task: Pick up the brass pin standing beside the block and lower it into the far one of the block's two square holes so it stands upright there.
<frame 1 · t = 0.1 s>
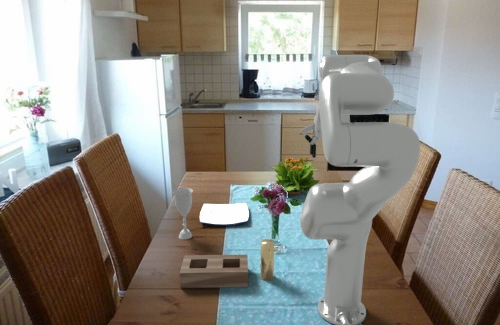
hand: (329, 156, 119), 37 cm above the table, tool pointing down, fingers open, 9 cm apart
chalice: (185, 236, 149), on the table
hole block: (215, 277, 122), on the table
potted flower: (292, 190, 195), on the table
pin: (267, 276, 123), on the table
plate: (224, 218, 166), on the table
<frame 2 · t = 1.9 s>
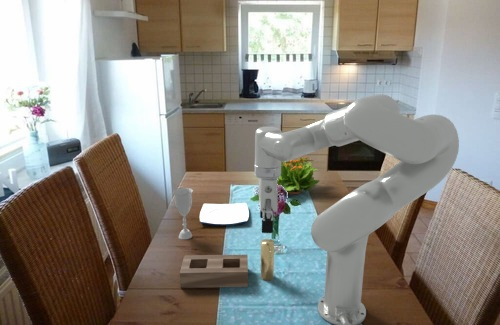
hand: (266, 224, 118), 17 cm above the table, tool pointing down, fingers open, 9 cm apart
nothing on the table moved.
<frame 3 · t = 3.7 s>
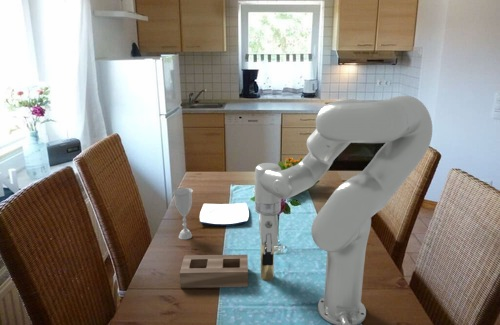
hand: (267, 260, 121), 6 cm above the table, tool pointing down, fingers closed on pin, 4 cm apart
pin: (267, 276, 123), on the table, touching gripper
everything else where it was.
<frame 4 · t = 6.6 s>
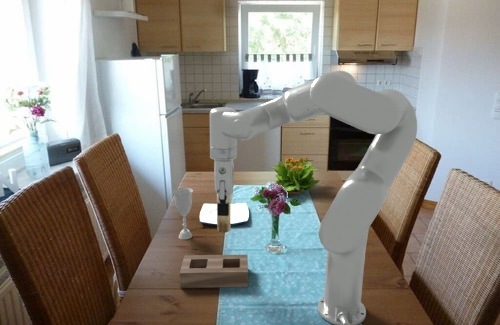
hand: (223, 211, 117), 22 cm above the table, tool pointing down, fingers closed on pin, 4 cm apart
pin: (223, 229, 118), point 16 cm above the table, touching gripper
everything else where it was.
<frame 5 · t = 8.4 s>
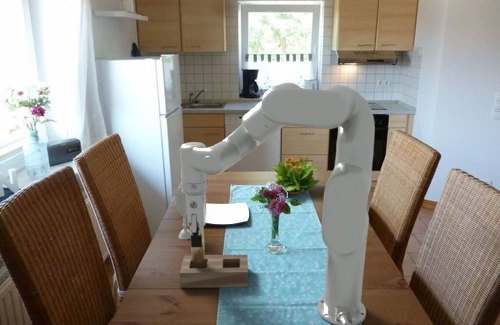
hand: (197, 242, 119), 12 cm above the table, tool pointing down, fingers closed on pin, 4 cm apart
pin: (198, 259, 121), point 6 cm above the table, touching gripper
everything else where it was.
when the fingers open (8 cm above the table, at t = 9.6 s): pin stays where it is, resting on hole block.
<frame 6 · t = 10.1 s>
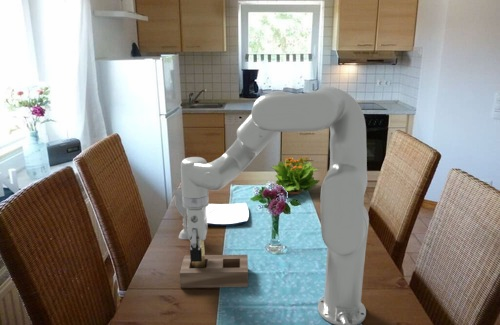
hand: (198, 252, 120), 9 cm above the table, tool pointing down, fingers open, 9 cm apart
pin: (199, 275, 122), point 1 cm above the table, touching hole block
everything else where it was.
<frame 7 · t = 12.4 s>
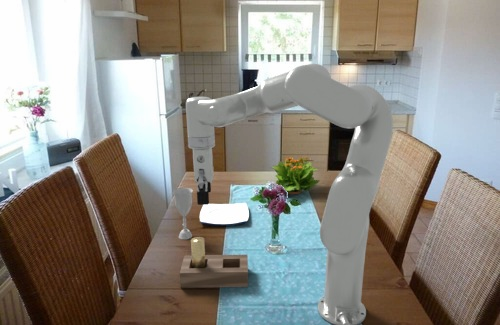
hand: (204, 197, 117), 26 cm above the table, tool pointing down, fingers open, 9 cm apart
nothing on the table moved.
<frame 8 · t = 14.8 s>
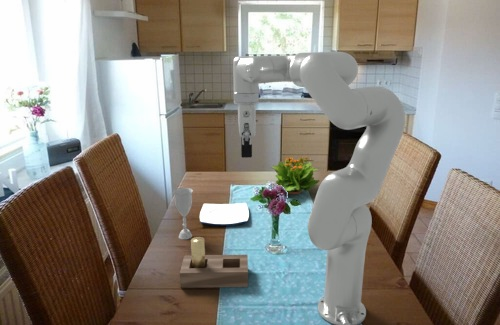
hand: (246, 152, 125), 36 cm above the table, tool pointing down, fingers open, 9 cm apart
nothing on the table moved.
at the end: pin 0.0 cm from the target spot on the hole block, point 1.0 cm above the hole block's base; pin tilted 0°; the gripper is holding nothing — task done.
